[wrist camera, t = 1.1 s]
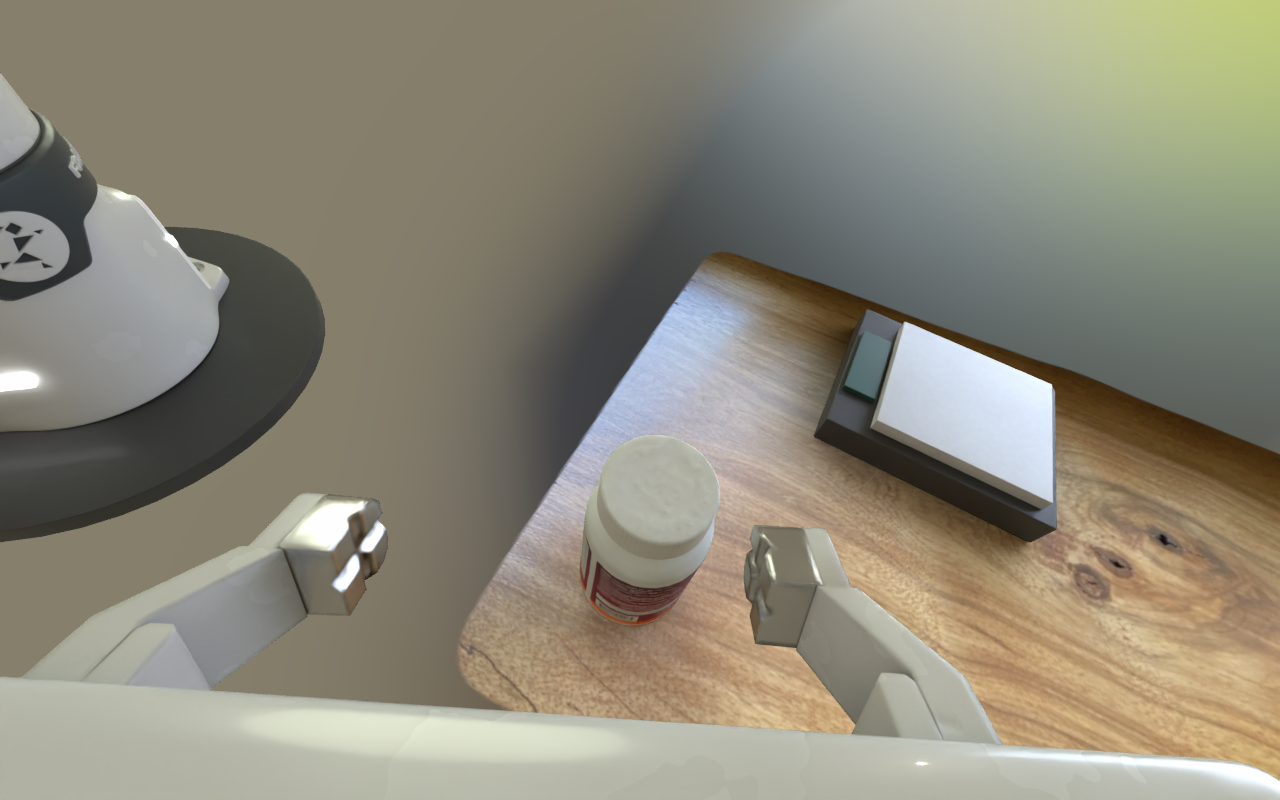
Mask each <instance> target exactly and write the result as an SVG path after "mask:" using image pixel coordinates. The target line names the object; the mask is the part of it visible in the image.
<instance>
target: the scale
mask: <svg viewBox="0 0 1280 800" xmlns="http://www.w3.org/2000/svg"><path fill="white" fill-rule="evenodd" d="M814 437H816V438H818V439H820V440H822V441H824V442H826V443H828V444H830V445H832V446H834V447H836V448H838V449H840V450H842V451H844V452H846V453H848V454H850V455H852V456H855V457H857V458H859V459H861V460H863V461H865V462H867V463H869V464H871V465H873V466H875V467H877V468H879V469H881V470H883V471H885V472H887V473H889V474H891V475H893V476H895V477H897V478H899V479H901V480H903V481H905V482H907V483H910V484H912V485H914V486H916V487H918V488H920V489H922V490H924V491H926V492H928V493H930V494H932V495H934V496H936V497H938V498H940V499H942V500H944V501H946V502H948V503H950V504H952V505H954V506H956V507H958V508H960V509H962V510H965V511H967V512H969V513H971V514H973V515H975V516H977V517H979V518H981V519H983V520H985V521H987V522H989V523H991V524H993V525H995V526H997V527H999V528H1001V529H1003V530H1005V531H1007V532H1009V533H1011V534H1013V535H1015V536H1017V537H1019V538H1022V539H1024V540H1026V541H1028V542H1032V541H1034V540H1036V539H1038V538H1040V537H1042V536H1044V535H1046V534H1048V533H1050V532H1052V531H1054V530H1056V529H1057V517H1056V442H1055V390H1054V389H1052V385H1051V384H1049V383H1047V382H1044V381H1042V380H1040V379H1037V378H1035V377H1033V376H1030V375H1028V374H1026V373H1023V372H1021V371H1019V370H1016V369H1014V368H1012V367H1009V366H1007V365H1005V364H1002V363H1000V362H998V361H996V360H993V359H991V358H989V357H986V356H984V355H982V354H979V353H977V352H975V351H972V350H970V349H968V348H965V347H963V346H961V345H958V344H956V343H954V342H951V341H949V340H947V339H944V338H942V337H940V336H937V335H935V334H933V333H930V332H928V331H926V330H923V329H921V328H919V327H916V326H914V325H912V324H909V323H907V322H904V323H903V324H901V323H898V322H896V321H894V320H892V319H889V318H887V317H885V316H882V315H880V314H878V313H875V312H873V311H871V310H868V309H867V310H866V311H865V313H864V314H863V316H862V318H861V319H860V321H859V322H858V324H857V325H856V327H855V328H854V331H853V333H852V336H851V339H850V341H849V344H848V347H847V349H846V352H845V355H844V357H843V360H842V363H841V365H840V368H839V370H838V373H837V376H836V378H835V381H834V384H833V386H832V389H831V392H830V394H829V397H828V400H827V402H826V405H825V407H824V410H823V413H822V415H821V418H820V421H819V423H818V426H817V429H816V431H815V434H814Z"/></svg>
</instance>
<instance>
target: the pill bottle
mask: <svg viewBox="0 0 1280 800" xmlns="http://www.w3.org/2000/svg"><path fill="white" fill-rule="evenodd" d="M719 504H720V487H719V482H718V479H717V476H716V473H715V471H714V469H713V467H712V466H711V464H710V463H709V462H708V460H707V459H706V458H705V457H704V455H702V454H701V453H700V452H699V451H698V450H697V449H695V448H694V447H693V446H691V445H689V444H688V443H686V442H683V441H682V440H679V439H676V438H673V437H669V436H663V435H648V436H642V437H638V438H635V439H632V440H630V441H628V442H626V443H624V444H622V445H621V446H620V447H619V448H617V449H616V450H615V451H614V452H613V453H612V455H611V456H610V457H609V459H608V460H607V462H606V464H605V466H604V468H603V471H602V475H601V479H600V482H599V483H598V484H597V486H596V487H595V489H594V490H593V492H592V494H591V496H590V498H589V501H588V504H587V509H586V514H585V521H584V531H583V541H582V550H581V560H580V577H581V583H582V587H583V590H584V593H585V595H586V597H587V599H588V600H589V602H590V603H591V605H592V606H593V607H594V608H595V609H596V610H597V612H598V613H600V614H601V615H602V616H604V617H605V618H607V619H609V620H611V621H613V622H616V623H619V624H623V625H643V624H647V623H650V622H653V621H655V620H657V619H659V618H661V617H662V616H664V615H665V614H666V613H667V612H668V611H669V610H670V609H671V608H672V607H673V606H674V604H675V603H676V601H677V600H678V599H679V597H680V595H681V594H682V592H683V591H684V589H685V588H686V586H687V585H688V583H689V582H690V580H691V578H692V577H693V575H694V574H695V572H696V571H697V569H698V568H699V567H700V565H701V564H702V562H703V561H704V560H705V558H706V555H707V553H708V551H709V549H710V546H711V543H712V540H713V535H714V519H715V516H716V514H717V511H718V508H719Z"/></svg>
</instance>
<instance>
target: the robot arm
mask: <svg viewBox="0 0 1280 800" xmlns="http://www.w3.org/2000/svg"><path fill="white" fill-rule="evenodd" d="M80 159H81V157H80V156H79V154H78V153H77V151H76V150H75V149H74V148H73V146H72V145H71V144H70V143H69V141H68V140H67V139H66V138H65V137H64V136H62V135H60V133H58V131H57V130H56V129H55V128H54V127H53V126H52V124H51V123H50V122H49V121H48V119H47V118H45V117H44V116H43V115H42V114H40V113H39V112H37V111H35V110H33V109H30V108H28V107H26V105H25V104H24V102H23V101H22V100H21V99H20V97H19V96H18V95H17V93H16V92H15V91H14V90H13V88H12V87H11V86H10V85H9V83H8V82H7V81H6V79H5V78H4V77H3V76H2V75H1V73H0V432H11V431H48V430H58V429H65V428H71V427H76V426H81V425H85V424H89V423H93V422H97V421H100V420H104V419H107V418H110V417H113V416H116V415H118V414H121V413H124V412H126V411H129V410H131V409H133V408H136V407H138V406H140V405H142V404H144V403H146V402H148V401H150V400H152V399H154V398H155V397H157V396H159V395H161V394H162V393H164V392H166V391H167V390H169V389H170V388H172V387H173V386H175V385H176V384H177V383H179V382H180V381H181V380H183V379H184V378H185V377H186V376H187V375H189V374H190V373H191V372H192V371H193V370H194V369H195V368H196V367H197V366H198V365H199V364H200V363H201V362H202V361H203V359H204V358H205V357H206V355H207V354H208V353H209V351H210V350H211V348H212V346H213V344H214V342H215V340H216V337H217V335H218V331H219V312H218V305H219V301H220V299H221V298H222V296H223V295H224V293H225V291H226V289H227V287H228V285H229V278H228V276H227V275H226V274H225V273H224V272H223V271H222V269H221V268H219V267H218V266H215V265H212V264H209V263H206V262H203V261H200V260H197V259H194V258H191V257H188V256H186V254H185V253H184V252H183V251H182V249H181V248H180V247H179V246H178V243H177V242H176V240H175V239H174V237H173V236H171V235H170V234H169V233H168V232H167V231H166V229H165V228H164V227H163V226H162V224H161V223H160V222H159V221H158V219H157V218H156V217H155V216H154V214H153V213H152V212H151V211H150V209H149V208H148V207H147V206H146V205H145V203H144V202H142V201H141V200H140V199H139V198H138V197H136V196H135V195H127V194H125V193H124V192H122V191H120V190H117V189H114V188H110V187H105V186H102V185H99V184H97V183H96V180H95V179H94V177H93V176H92V174H91V173H90V171H89V170H88V169H87V168H86V166H85V165H84V164H83V162H82V161H81V160H80ZM381 514H382V511H381V507H380V503H379V501H377V500H375V499H373V498H362V497H352V496H341V495H330V494H329V495H324V494H314V493H304V494H301V495H299V496H297V497H296V498H295V499H294V500H293V501H292V502H291V503H290V504H289V505H288V506H287V507H286V508H285V509H284V510H283V511H282V512H281V513H280V514H279V515H278V516H277V518H276V519H275V520H274V521H273V522H272V523H271V524H270V525H269V526H268V527H267V528H266V529H265V530H264V531H263V532H262V533H261V534H260V535H259V536H258V537H257V538H256V539H255V540H254V541H253V542H252V543H251V544H250V545H249V546H240V547H237V548H235V549H233V550H231V551H229V552H227V553H225V554H223V555H221V556H218V557H216V558H214V559H212V560H210V561H208V562H206V563H204V564H202V565H200V566H197V567H195V568H193V569H191V570H189V571H187V572H184V573H182V574H180V575H178V576H176V577H174V578H172V579H170V580H168V581H166V582H163V583H161V584H159V585H157V586H155V587H153V588H151V589H148V590H146V591H144V592H142V593H140V594H138V595H136V596H134V597H132V598H129V599H127V600H125V601H123V602H121V603H119V604H117V605H115V606H112V607H110V608H108V609H106V610H104V611H102V612H100V613H98V614H95V615H93V616H91V617H90V618H89V619H88V620H87V621H86V622H85V623H83V624H82V625H81V626H80V627H79V628H78V629H76V630H75V631H74V632H73V633H72V634H71V635H70V636H68V637H67V638H66V639H65V640H64V641H63V642H61V643H60V644H59V645H58V646H57V647H56V648H55V649H53V650H52V651H51V652H50V653H49V654H48V655H47V656H45V657H44V658H43V659H42V660H41V661H40V662H38V663H37V664H36V665H35V666H34V667H33V668H32V669H30V670H29V671H28V672H27V673H26V674H25V675H23V676H22V677H21V678H16V677H1V676H0V800H1280V780H1279V779H1277V778H1275V777H1274V776H1272V775H1270V774H1269V773H1267V772H1265V771H1263V770H1261V769H1259V768H1256V767H1254V766H1251V765H1248V764H1244V763H1240V762H1237V761H1229V760H1221V759H1212V758H1199V757H1183V756H1167V755H1151V754H1136V753H1121V752H1106V751H1091V750H1076V749H1061V748H1045V747H1031V746H1016V745H1003V744H1002V742H1001V740H1000V738H999V737H998V735H997V733H996V731H995V729H994V728H993V726H992V724H991V722H990V720H989V719H988V717H987V715H986V713H985V711H984V710H983V708H982V706H981V704H980V702H979V701H978V699H977V697H976V695H975V693H974V692H973V690H972V688H971V686H970V684H969V683H968V681H967V679H966V677H965V676H964V675H962V674H961V673H960V672H959V671H958V670H956V669H955V668H954V667H953V666H952V665H950V664H949V663H948V662H947V661H946V660H944V659H943V658H942V657H941V656H940V655H938V654H937V653H936V652H935V651H933V650H932V649H931V648H930V647H929V646H927V645H926V644H925V643H924V642H923V641H921V640H920V639H919V638H918V637H917V636H915V635H914V634H913V633H912V632H911V631H909V630H908V629H907V628H906V627H905V626H903V625H902V624H901V623H900V622H898V621H897V620H896V619H895V618H894V617H892V616H891V615H890V614H889V613H888V612H886V611H885V610H884V609H883V608H882V607H880V606H879V605H878V604H877V603H876V602H874V601H873V600H872V599H871V598H870V597H868V596H867V595H866V594H865V593H863V592H862V591H861V590H860V589H857V588H852V587H851V585H850V583H849V580H848V578H847V576H846V573H845V571H844V569H843V566H842V564H841V562H840V559H839V557H838V555H837V552H836V550H835V548H834V545H833V543H832V541H831V538H830V536H829V534H828V532H827V531H826V530H825V529H822V528H803V527H801V528H797V527H780V526H764V525H755V526H754V527H753V529H752V533H751V537H750V540H751V545H752V550H751V551H750V552H748V553H747V555H746V560H745V566H744V585H745V592H746V598H747V599H748V600H749V601H750V602H751V603H752V604H753V605H752V609H751V613H750V619H751V624H752V630H753V635H754V640H755V644H762V645H772V646H782V647H793V648H797V649H796V650H797V652H798V653H799V654H800V655H801V657H802V658H803V659H804V660H805V662H806V663H807V664H808V665H809V667H810V668H811V669H812V670H813V672H814V673H815V674H816V675H817V677H818V678H819V679H820V681H821V682H822V683H823V684H824V686H825V687H826V688H827V689H828V691H829V692H830V693H831V694H832V696H833V697H834V698H835V699H836V701H837V702H838V703H839V704H840V706H841V707H842V708H843V710H844V711H845V712H846V713H847V715H848V716H849V717H850V718H851V720H852V721H853V722H854V723H855V725H856V726H855V728H854V730H853V732H852V734H841V733H826V732H811V731H797V730H782V729H767V728H753V727H738V726H724V725H709V724H694V723H679V722H664V721H649V720H634V719H619V718H604V717H589V716H574V715H559V714H544V713H530V712H515V711H501V710H486V709H472V708H471V709H470V708H457V707H442V706H428V705H413V704H399V703H383V702H370V701H355V700H340V699H326V698H311V697H295V696H281V695H267V694H251V693H237V692H223V691H212V689H211V688H212V687H214V686H215V685H216V684H218V683H219V682H221V681H222V680H223V679H225V678H226V677H227V676H229V675H230V674H231V673H233V672H234V671H235V670H237V669H238V668H239V667H241V666H242V665H243V664H245V663H246V662H247V661H249V660H250V659H251V658H253V657H254V656H255V655H257V654H258V653H260V652H261V651H262V650H264V649H265V648H266V647H268V646H269V645H270V644H272V643H273V642H274V641H276V640H277V639H278V638H280V637H281V636H282V635H284V634H285V633H286V632H288V631H289V630H290V629H292V628H293V627H294V626H296V625H297V624H298V623H300V622H301V621H302V620H304V619H305V618H306V617H307V614H311V615H337V616H350V615H351V613H352V612H353V610H354V609H355V607H356V605H357V604H358V602H359V601H360V599H361V598H362V596H363V594H364V593H365V591H366V585H365V580H366V579H368V578H369V577H371V576H372V575H374V574H376V573H377V572H378V570H379V569H380V567H381V565H382V564H383V562H384V559H385V556H386V552H387V549H388V536H387V531H386V528H385V527H384V526H382V525H381V524H380V523H379V522H378V521H377V520H378V518H379V517H380V516H381Z"/></svg>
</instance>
